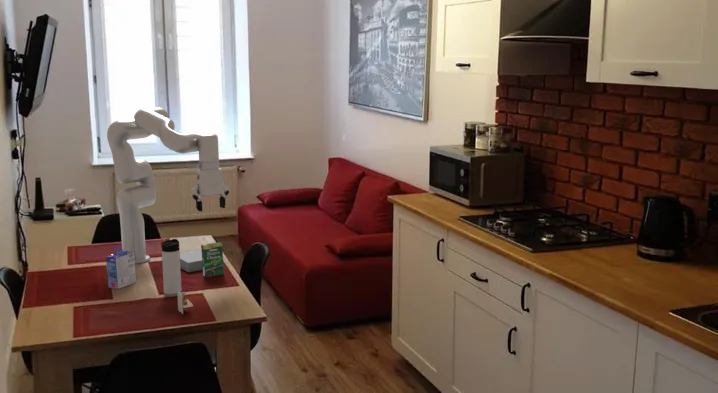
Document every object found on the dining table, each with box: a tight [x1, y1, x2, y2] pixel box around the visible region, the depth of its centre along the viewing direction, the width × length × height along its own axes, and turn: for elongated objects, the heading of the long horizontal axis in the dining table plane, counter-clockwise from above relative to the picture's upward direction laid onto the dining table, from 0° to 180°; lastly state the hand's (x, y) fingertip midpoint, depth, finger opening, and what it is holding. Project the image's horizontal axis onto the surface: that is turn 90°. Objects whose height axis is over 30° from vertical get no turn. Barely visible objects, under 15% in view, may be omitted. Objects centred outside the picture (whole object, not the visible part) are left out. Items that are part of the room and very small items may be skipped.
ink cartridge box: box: [105, 246, 137, 290], centre depth 275 cm, size 10×6×14 cm, turn 155°
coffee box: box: [200, 241, 225, 278], centre depth 287 cm, size 8×3×13 cm, turn 116°
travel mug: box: [161, 238, 183, 298], centre depth 264 cm, size 6×7×20 cm
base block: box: [180, 250, 203, 273], centre depth 302 cm, size 11×16×4 cm
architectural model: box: [177, 291, 194, 315], centre depth 247 cm, size 3×7×7 cm, turn 28°
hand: (211, 209), depth 284 cm, fingers open, 9 cm apart
